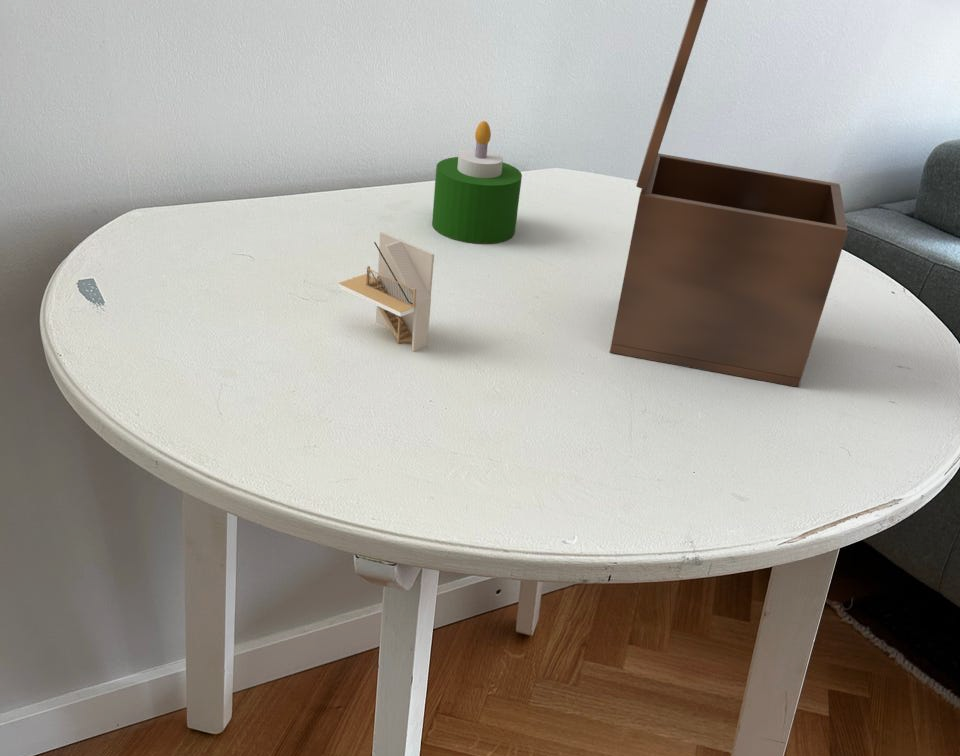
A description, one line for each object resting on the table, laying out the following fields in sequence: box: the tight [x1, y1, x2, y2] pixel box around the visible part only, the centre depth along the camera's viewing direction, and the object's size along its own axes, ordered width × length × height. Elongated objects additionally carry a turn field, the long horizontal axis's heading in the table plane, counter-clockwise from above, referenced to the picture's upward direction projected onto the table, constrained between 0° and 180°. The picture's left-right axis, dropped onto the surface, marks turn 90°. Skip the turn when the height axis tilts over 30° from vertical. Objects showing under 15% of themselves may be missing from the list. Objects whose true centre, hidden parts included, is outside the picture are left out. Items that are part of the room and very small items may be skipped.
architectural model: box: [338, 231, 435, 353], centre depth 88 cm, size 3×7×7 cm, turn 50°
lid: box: [635, 0, 709, 190], centre depth 82 cm, size 16×12×1 cm
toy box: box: [609, 152, 849, 388], centre depth 91 cm, size 16×12×13 cm
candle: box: [431, 120, 523, 245], centre depth 107 cm, size 8×8×10 cm
